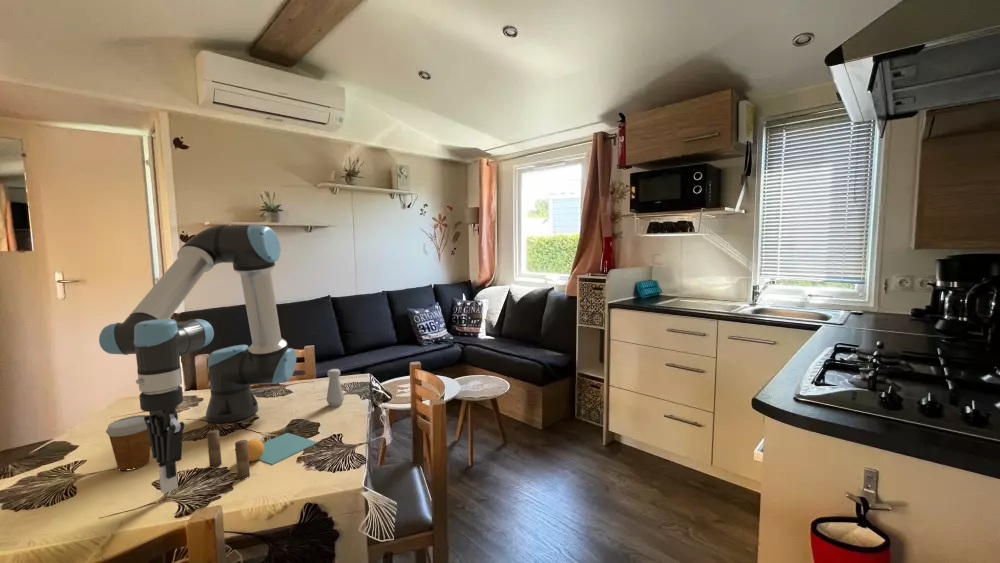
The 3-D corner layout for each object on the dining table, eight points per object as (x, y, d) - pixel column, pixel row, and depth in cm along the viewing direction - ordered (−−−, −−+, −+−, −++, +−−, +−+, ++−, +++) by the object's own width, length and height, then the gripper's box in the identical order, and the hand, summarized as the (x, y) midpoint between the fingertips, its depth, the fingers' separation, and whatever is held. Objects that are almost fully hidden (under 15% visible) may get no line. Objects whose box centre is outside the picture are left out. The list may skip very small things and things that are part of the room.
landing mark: (241, 453, 118) (241, 452, 118) (287, 433, 130) (287, 432, 130) (272, 464, 111) (272, 464, 111) (318, 442, 123) (318, 442, 123)
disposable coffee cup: (129, 457, 117) (125, 415, 116) (165, 455, 118) (162, 413, 117) (99, 475, 107) (94, 429, 106) (139, 473, 108) (135, 427, 107)
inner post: (207, 466, 111) (205, 433, 110) (218, 461, 113) (215, 429, 113) (213, 468, 110) (210, 435, 109) (223, 464, 112) (221, 431, 111)
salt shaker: (346, 402, 156) (345, 367, 155) (339, 408, 150) (337, 372, 149) (331, 402, 156) (329, 367, 155) (323, 407, 151) (321, 372, 150)
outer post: (235, 478, 105) (232, 443, 104) (245, 473, 107) (243, 438, 107) (241, 481, 104) (238, 445, 103) (252, 475, 106) (249, 441, 105)
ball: (233, 446, 112) (252, 433, 116) (240, 463, 114) (259, 449, 118) (245, 451, 109) (264, 437, 114) (252, 468, 111) (271, 454, 116)
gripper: (126, 389, 95) (136, 490, 97) (155, 399, 89) (164, 506, 91) (166, 380, 102) (174, 475, 103) (195, 388, 95) (202, 488, 97)
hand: (169, 489), depth 97 cm, fingers closed
